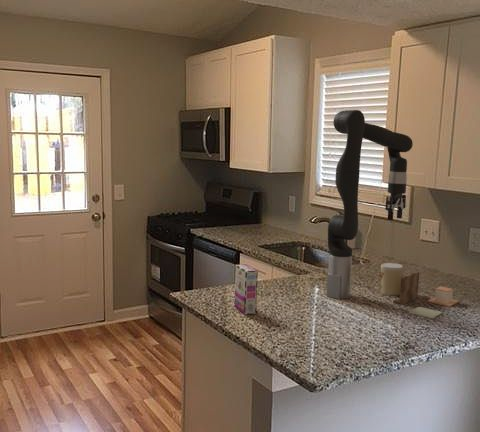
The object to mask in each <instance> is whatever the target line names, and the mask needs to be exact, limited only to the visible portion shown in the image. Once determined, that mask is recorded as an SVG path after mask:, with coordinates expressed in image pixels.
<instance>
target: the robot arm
mask: <svg viewBox="0 0 480 432" xmlns="http://www.w3.org/2000/svg"><path fill="white" fill-rule="evenodd" d="M332 122H333V127H334V129H335V130H336V131H337V132H338V133H339V134H343V135H347V136H346V145H345V149H344V151H343V153H342V154H341V156H340V158H339V160H338V162H337V164H336V168H335V179H334V180H335V182H334V183H335V188H336V189H337V191H338V194H339V197H340V199H341V201H342V204H343V205H342V206H343V215H338V214H336V215H333V216H332V217H331V218H330V219H329V221H328V224H327V247H328V248H327V249H328V252H329V254H328V273H327V275H326V292H325V293H326V294H325V295H326V297H329V298H332V299H336V300H341V299H348V298H350V296H351V283H352V282H351V281H352V263H353V249H352V248H351V247H350V246H349V245H348V244H347V243H346V241H353V240H354V239H355V238H356V237H357V234H358V230H359V207H358V206H359V205H358V201H359V198H358V197H359V184H360V171H361V170H360V169H361V168H360V167H361V166H360V165H361V164H360V163H361V153H362V144H363V140H364V139H365V140H368V141H369V142H372V143H375V144H377V145H380V146H382V147H386V148H387V152H388V159H389V173H388V182H387V193H389V194H390V195H389V196H388V195H387V196H386V199H385V208H384V210H385V211H387V220H388V221H393V220H394V211H395V209H397V210H396V219H402V218H403V212H404V209H406V205H407V203H406V202H407V197H406V196H407V195H406V193H407V178H408V177H407V169H408V161H407V159H406V158H404V157H402V156H401V153H407V152H409V151H411V150H412V148H413V146H414V145H413V139H412V138H411V137H410V136H408V135H407V134H403V133H399V132H396V131H392V130H390V129H388V128H385V127H384V126H380V125H375V124H373V123H367V122H366V121H365V116H364V113H363V112H362V111H361V110H359V109H353V110H352V109H347V110H342V111H338V112H337V113H336V114H335V115H334V118H333V121H332ZM345 240H346V241H345Z"/></svg>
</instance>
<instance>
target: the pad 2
mask: <svg viewBox="0 0 480 432" xmlns="http://www.w3.org/2000/svg"><path fill="white" fill-rule="evenodd" d="M427 302H428V303H433V304H436V305H441V306H445V307H449V308H451V307H452V306H454V305H456V304H459V302H460V301H459V300H455V299H452V301H451V302H449V303H443V302H438V301H435V296H434V297H432V298H430V299H428V300H427Z"/></svg>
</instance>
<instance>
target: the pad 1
mask: <svg viewBox="0 0 480 432" xmlns="http://www.w3.org/2000/svg"><path fill="white" fill-rule="evenodd" d="M408 313H409V314H412V315H416V316H420V317H424V318H427V319H435V318H437V317H438V316H440V315H442V314H443V311H440V310H436V309H431V308H427V307H424V306H418V307H415V308H414V309H411V310H410V311H409V312H408Z"/></svg>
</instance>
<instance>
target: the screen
mask: <svg viewBox="0 0 480 432" xmlns="http://www.w3.org/2000/svg"><path fill="white" fill-rule="evenodd" d="M419 280H420V271H417V270H416V271H413V272H411V273H409V274H406V275H402V277H401V287H400V294H399V298H396V299H394V300H392V303H393V304H398V305H401V306H402V305H404V304H408V303H409V302H411V301H413V300H415V299H417V298H419V297H418V296H419V295H418V294H419V284H420V283H419Z"/></svg>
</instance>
